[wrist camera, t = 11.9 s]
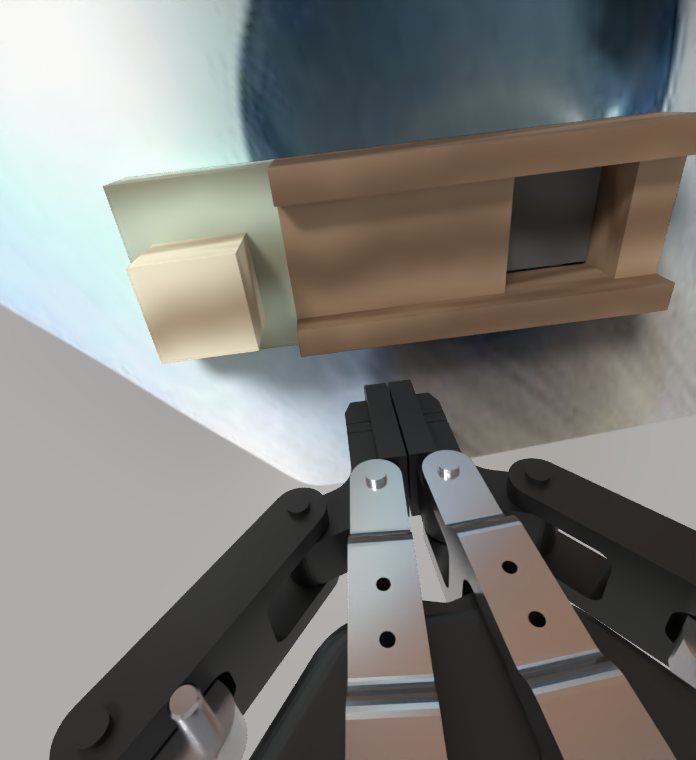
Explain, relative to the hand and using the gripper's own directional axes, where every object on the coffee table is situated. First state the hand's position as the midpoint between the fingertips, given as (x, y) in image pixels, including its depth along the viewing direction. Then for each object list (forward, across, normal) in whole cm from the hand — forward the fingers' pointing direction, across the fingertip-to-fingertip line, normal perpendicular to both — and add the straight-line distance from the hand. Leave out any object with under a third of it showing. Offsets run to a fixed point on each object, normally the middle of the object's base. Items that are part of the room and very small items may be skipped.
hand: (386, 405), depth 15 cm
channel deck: (+22, -4, 0) cm, 22 cm away
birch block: (+18, +9, +1) cm, 20 cm away
